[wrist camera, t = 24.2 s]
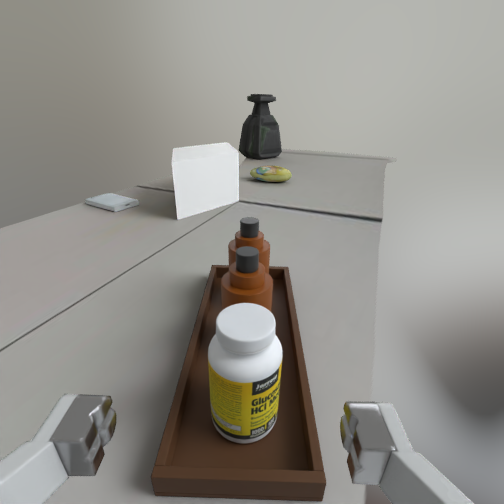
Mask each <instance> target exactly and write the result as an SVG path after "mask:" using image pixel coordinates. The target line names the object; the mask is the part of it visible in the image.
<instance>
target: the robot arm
mask: <svg viewBox="0 0 504 504" xmlns="http://www.w3.org/2000/svg"><path fill="white" fill-rule="evenodd" d="M111 405H112V399H111V396H104V395H83V394H64V395H63V396H62V397H61V398H60V399H59V400H58V402H57V403H56V405H55V406H54V408H53V409H52V411H51V412H50V414H49V415H48V417H47V418H46V420H45V421H44V423H43V424H42V426H41V427H40V429H39V430H38V432H37V433H36V434H35V436H34V437H33V439H32V440H31V441H26V442H25V443H23V444H22V445H21V446H19V447H18V448H16V449H15V450H14V451H12V452H11V453H10V454H8V455H7V456H5V457H4V458H3V459H1V460H0V504H44V503H45V502H46V501H47V500H48V499H49V497H50V496H51V495H52V494H53V493H54V492H55V491H56V490H57V489H58V488H59V487H60V486H61V485H62V484H63V483H64V482H65V481H66V480H67V479H68V478H69V477H68V476H95V475H96V473H97V470H98V468H99V466H100V464H101V461H102V459H103V457H104V455H105V454H104V450H103V447H104V446H105V445H106V444H107V443H108V442H109V441H111V438H112V436H113V433H114V430H115V426H116V413H115V410H113V409H112V408H111ZM344 412H345V415H343V416H342V417H341V423H340V432H341V439H342V443H343V447H344V448H345V449H346V450H347V452H348V453H349V455H348V459H347V463H348V467H349V471H350V475H351V479H352V483H353V484H371V485H379V487H380V488H381V490H382V491H383V492H384V494H385V495H386V496H387V498H388V499H389V500H390V501H391V503H392V504H474V503H473V502H472V501H471V500H470V499H468V498H467V497H466V496H465V495H464V494H463V493H462V492H461V491H460V490H459V489H458V488H457V487H456V486H455V485H454V484H452V483H451V482H450V481H449V480H448V479H447V478H446V477H445V476H444V475H443V474H442V473H441V472H440V471H439V470H437V469H436V468H435V467H434V466H433V465H432V464H431V463H430V462H429V461H428V460H427V459H426V458H425V457H423V456H422V455H421V454H420V453H419V452H414V450H413V448H412V446H411V444H410V442H409V439H408V437H407V435H406V432H405V430H404V428H403V426H402V424H401V421H400V419H399V417H398V415H397V413H396V410H395V408H394V406H393V405H392V404H391V403H388V402H385V403H383V402H381V403H380V402H346V403H345V405H344Z"/></svg>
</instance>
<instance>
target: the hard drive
mask: <svg viewBox="0 0 504 504" xmlns="http://www.w3.org/2000/svg"><path fill="white" fill-rule="evenodd" d="M86 204H89V205H92V206H96V207H100V208H103V209H107V210H111V211H114V212H118V211H121V210H124V209H127V208H130V207H133V206H137V205H139V200H136V199H132V198H128V197H124V196H120V195H116V194H112V193H107V194H103V195H99V196H96V197H92V198H88V199H86Z"/></svg>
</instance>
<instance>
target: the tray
mask: <svg viewBox="0 0 504 504" xmlns="http://www.w3.org/2000/svg"><path fill="white" fill-rule="evenodd" d="M227 272H229V265H212V267H211V271H210V274H209V278H208V281H207V284H206V288H205V291H204V295H203V298H202V302H201V305H200V309H199V312H198V316H197V319H196V323H195V326H194V330H193V333H192V337H191V340H190V343H189V347H188V350H187V354H186V357H185V361H184V364H183V368H182V371H181V375H180V378H179V382H178V385H177V389H176V392H175V396H174V399H173V402H172V406H171V409H170V413H169V416H168V420H167V423H166V427H165V430H164V434H163V437H162V441H161V444H160V448H159V451H158V454H157V458H156V461H155V466H154V468H153V471H152V475H151V480H152V484H153V488H154V492H155V496H180V497H209V498H239V499H269V500H299V501H322V499H323V495H324V491H325V486H326V478H325V473H324V468H323V462H322V456H321V451H320V445H319V439H318V434H317V428H316V422H315V417H314V411H313V405H312V400H311V394H310V388H309V383H308V377H307V371H306V365H305V360H304V354H303V348H302V343H301V337H300V331H299V326H298V320H297V314H296V309H295V303H294V297H293V292H292V286H291V280H290V275H289V269H288V267H272V266H269V275H270V276H271V277H272V279H273V290H272V308H271V313H272V314H273V316H274V318H275V322H276V327H275V335H276V336H277V337H278V339H279V341H280V343H281V346H282V355H283V357H282V367H281V378H280V390H279V401H278V412H277V418H276V422H275V424H274V426H273V428H272V429H271V431H270V432H269V433H268V434H267V435H266V436H265V437H263V438H262V439H260V440H258V441H255V442H252V443H247V444H241V443H236V442H233V441H230V440H228V439H226V438H225V437H223V436H222V435H221V434H220V433H219V432H218V430H217V429H216V427H215V426H214V423H213V420H212V416H211V403H210V384H209V367H208V348H209V344H210V342H211V340H212V338H213V337H214V335H215V334H216V319H217V316H218V315H219V313H220V312H221V311H222V295H221V279H222V277H223V276H224V275H225V274H226V273H227Z"/></svg>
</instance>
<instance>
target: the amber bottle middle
mask: <svg viewBox="0 0 504 504" xmlns="http://www.w3.org/2000/svg"><path fill="white" fill-rule="evenodd" d="M272 290H273V279H272V277H271V276H270V275H269V274H268V273H266V272H265V267H264V265H263V264H261V263H260V262H259V251H258V249H256V248H254V247H249V246H245V247H240V248H238V249H237V250H236V262H234V263H233V264H231V266H230V267H229V272H227V273H226V274H225V275H224V276H223V277H222V279H221V295H222V310H223V309H225V308H227V307H229V306H231V305H234V304H239V303H253V304H257V305H260V306H263V307H265V308H266V309H268V310H269V311H270V312H271V308H272Z"/></svg>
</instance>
